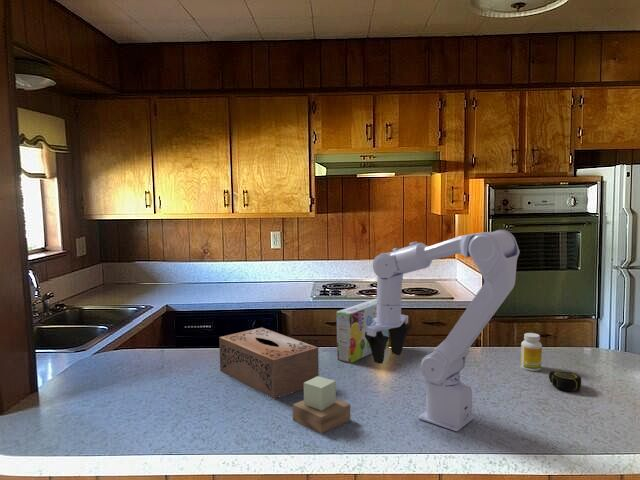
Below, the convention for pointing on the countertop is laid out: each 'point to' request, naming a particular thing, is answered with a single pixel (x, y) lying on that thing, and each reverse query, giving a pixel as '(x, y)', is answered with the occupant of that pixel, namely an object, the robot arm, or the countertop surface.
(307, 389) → the sage cube
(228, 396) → the countertop surface
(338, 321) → the snack box
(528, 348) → the supplement bottle
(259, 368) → the tissue box cover
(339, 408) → the walnut block
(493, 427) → the countertop surface
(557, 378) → the tape measure
